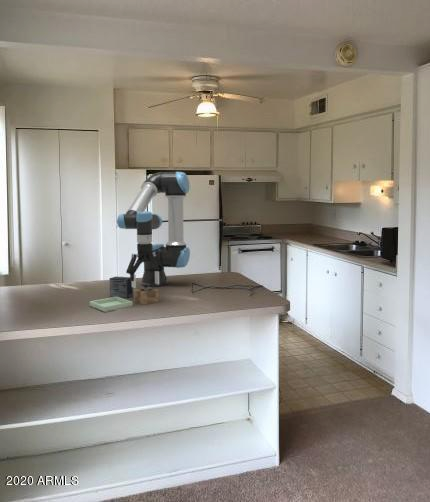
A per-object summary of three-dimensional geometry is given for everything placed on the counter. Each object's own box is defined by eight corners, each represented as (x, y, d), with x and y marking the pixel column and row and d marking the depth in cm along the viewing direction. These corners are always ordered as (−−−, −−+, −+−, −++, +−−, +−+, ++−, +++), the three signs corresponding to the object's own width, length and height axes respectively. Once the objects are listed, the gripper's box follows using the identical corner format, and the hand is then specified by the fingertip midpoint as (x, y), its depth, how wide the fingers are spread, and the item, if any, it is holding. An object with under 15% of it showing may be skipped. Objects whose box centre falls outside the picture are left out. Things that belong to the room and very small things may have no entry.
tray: (89, 306, 250) (89, 301, 249) (117, 301, 259) (116, 296, 259) (104, 312, 238) (104, 307, 238) (132, 306, 248) (132, 301, 248)
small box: (133, 296, 270) (133, 277, 268) (127, 299, 264) (127, 279, 262) (116, 295, 273) (115, 275, 272) (109, 298, 267) (108, 278, 265)
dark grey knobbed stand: (135, 302, 256) (134, 283, 255) (148, 300, 261) (148, 281, 260) (144, 305, 250) (143, 285, 249) (157, 302, 255) (157, 283, 254)
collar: (133, 301, 256) (133, 289, 255) (149, 298, 262) (148, 287, 261) (143, 304, 249) (143, 292, 249) (159, 301, 255) (158, 289, 254)
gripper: (126, 245, 241) (127, 290, 243) (170, 241, 257) (170, 283, 259) (118, 244, 246) (119, 287, 249) (161, 240, 262) (162, 281, 265)
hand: (145, 285), depth 254 cm, fingers open, 13 cm apart
